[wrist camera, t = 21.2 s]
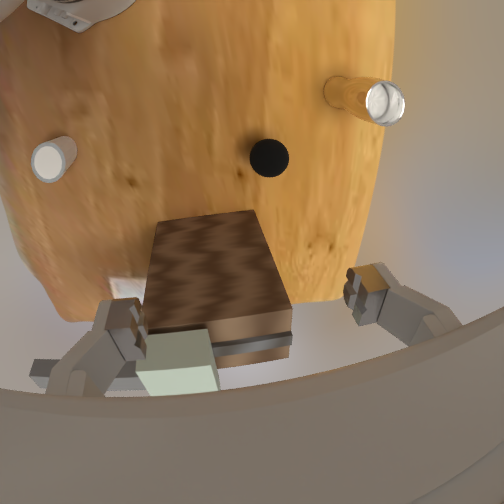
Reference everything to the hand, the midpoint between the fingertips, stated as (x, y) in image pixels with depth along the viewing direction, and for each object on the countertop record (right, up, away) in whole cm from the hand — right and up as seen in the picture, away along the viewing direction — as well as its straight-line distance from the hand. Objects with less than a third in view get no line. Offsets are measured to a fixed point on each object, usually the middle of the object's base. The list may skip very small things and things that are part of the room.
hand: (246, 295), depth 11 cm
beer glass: (+15, +30, +34) cm, 47 cm away
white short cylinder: (-33, +19, +31) cm, 49 cm away
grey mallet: (-17, -13, +22) cm, 31 cm away
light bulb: (+2, +20, +38) cm, 42 cm away
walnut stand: (-8, +4, +46) cm, 47 cm away
